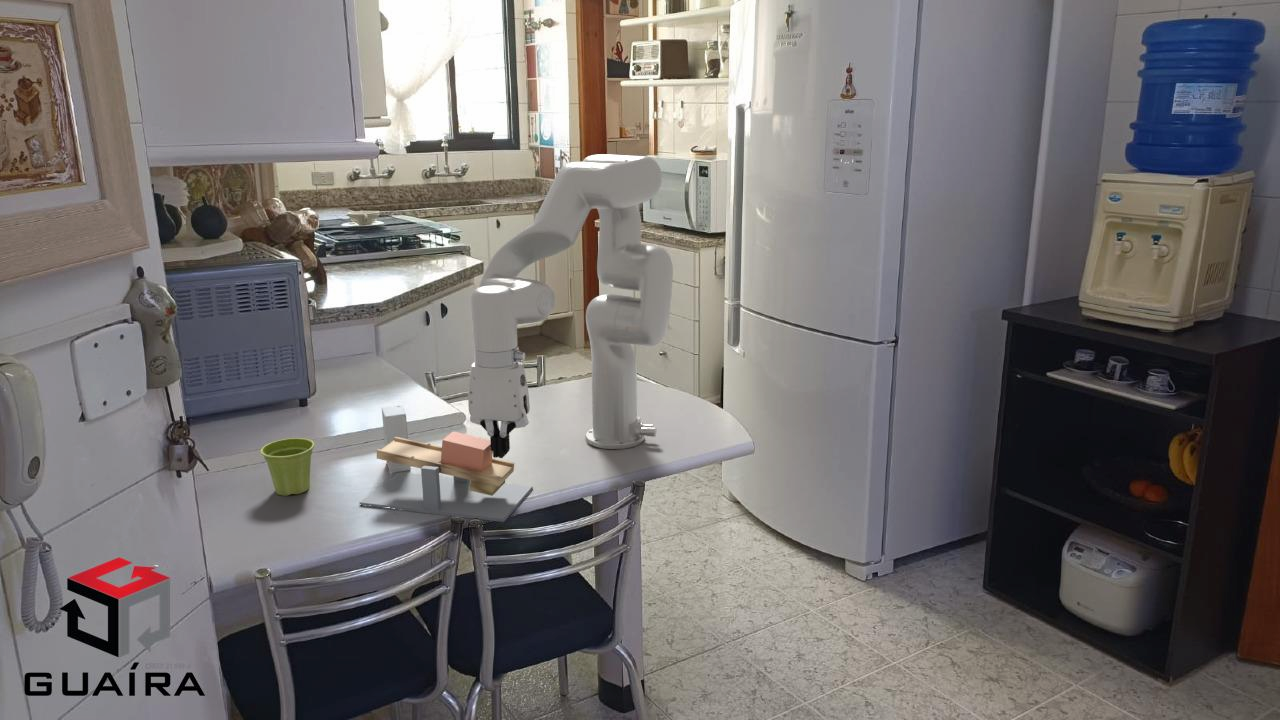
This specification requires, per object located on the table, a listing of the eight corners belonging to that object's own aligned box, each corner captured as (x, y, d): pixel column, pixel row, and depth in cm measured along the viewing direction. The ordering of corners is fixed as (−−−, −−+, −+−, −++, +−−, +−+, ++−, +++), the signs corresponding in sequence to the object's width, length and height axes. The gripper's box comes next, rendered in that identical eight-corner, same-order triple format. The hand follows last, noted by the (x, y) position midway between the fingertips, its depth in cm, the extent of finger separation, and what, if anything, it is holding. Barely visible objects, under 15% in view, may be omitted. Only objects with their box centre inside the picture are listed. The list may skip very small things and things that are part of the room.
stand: (532, 489, 178) (531, 447, 175) (503, 522, 164) (501, 477, 162) (398, 474, 184) (395, 434, 182) (359, 505, 171) (355, 462, 169)
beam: (516, 479, 176) (517, 458, 174) (494, 502, 166) (496, 480, 165) (399, 453, 180) (400, 433, 179) (371, 474, 171) (372, 452, 170)
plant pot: (292, 503, 172) (287, 459, 169) (254, 494, 176) (249, 451, 173) (329, 484, 180) (325, 442, 177) (292, 476, 184) (287, 434, 181)
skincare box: (385, 462, 190) (381, 406, 187) (407, 459, 192) (403, 404, 188) (389, 473, 185) (384, 416, 182) (411, 470, 186) (406, 413, 183)
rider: (491, 463, 173) (493, 441, 171) (481, 472, 168) (483, 449, 167) (451, 453, 174) (453, 431, 173) (440, 462, 170) (442, 439, 169)
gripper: (543, 354, 166) (547, 451, 171) (465, 348, 169) (470, 444, 174) (529, 365, 159) (532, 466, 164) (447, 360, 162) (453, 459, 167)
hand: (500, 455), depth 169 cm, fingers closed
